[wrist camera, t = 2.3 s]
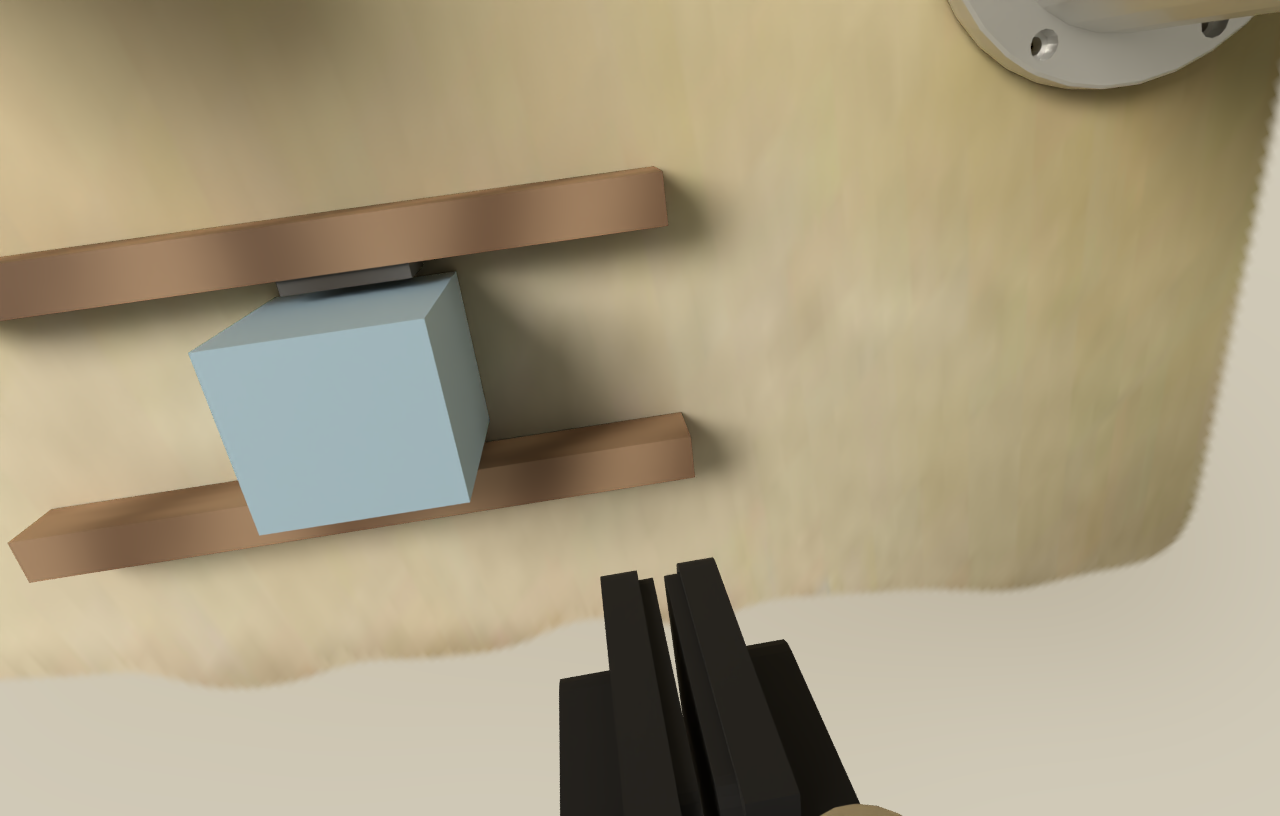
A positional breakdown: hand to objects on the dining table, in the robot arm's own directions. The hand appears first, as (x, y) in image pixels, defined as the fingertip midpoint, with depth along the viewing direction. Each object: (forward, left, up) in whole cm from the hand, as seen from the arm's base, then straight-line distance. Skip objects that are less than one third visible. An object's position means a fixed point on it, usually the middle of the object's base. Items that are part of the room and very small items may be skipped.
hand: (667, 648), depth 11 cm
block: (+8, 0, -16) cm, 18 cm away
